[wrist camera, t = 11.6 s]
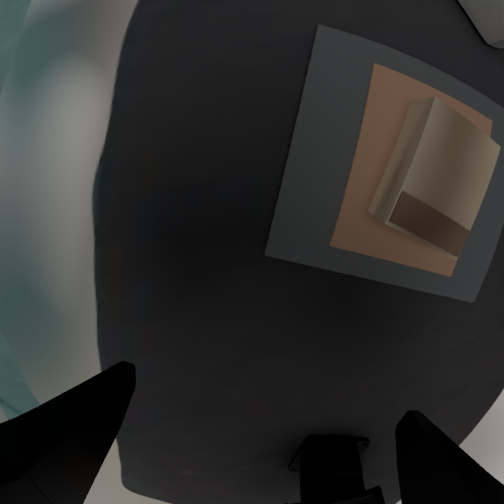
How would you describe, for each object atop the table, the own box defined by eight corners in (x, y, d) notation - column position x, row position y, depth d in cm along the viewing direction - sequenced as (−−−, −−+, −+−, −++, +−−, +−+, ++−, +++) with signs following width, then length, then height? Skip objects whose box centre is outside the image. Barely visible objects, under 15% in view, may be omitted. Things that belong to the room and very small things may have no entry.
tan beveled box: (472, 144, 14) (502, 147, 11) (432, 243, 17) (457, 261, 14) (410, 102, 14) (436, 95, 11) (367, 211, 16) (386, 224, 13)
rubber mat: (469, 299, 19) (474, 304, 18) (264, 252, 18) (264, 256, 18) (519, 123, 14) (525, 123, 13) (316, 27, 14) (318, 23, 13)
